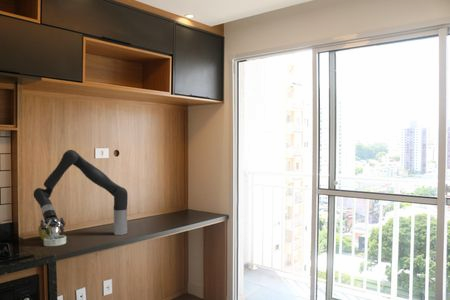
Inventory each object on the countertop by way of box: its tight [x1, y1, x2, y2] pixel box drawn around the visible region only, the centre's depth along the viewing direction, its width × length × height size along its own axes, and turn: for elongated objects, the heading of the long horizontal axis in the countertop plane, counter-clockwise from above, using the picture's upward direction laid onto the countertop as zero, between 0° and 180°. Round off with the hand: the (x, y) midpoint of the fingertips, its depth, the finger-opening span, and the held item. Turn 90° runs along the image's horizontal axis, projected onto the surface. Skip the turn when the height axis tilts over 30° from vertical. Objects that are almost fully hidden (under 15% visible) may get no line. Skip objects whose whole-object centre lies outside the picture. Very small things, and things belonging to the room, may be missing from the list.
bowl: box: [43, 234, 67, 247], centre depth 234 cm, size 13×13×4 cm
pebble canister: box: [50, 225, 60, 240], centre depth 234 cm, size 5×5×10 cm
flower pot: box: [37, 224, 51, 241], centre depth 248 cm, size 9×9×9 cm
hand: (55, 232), depth 233 cm, fingers open, 8 cm apart
